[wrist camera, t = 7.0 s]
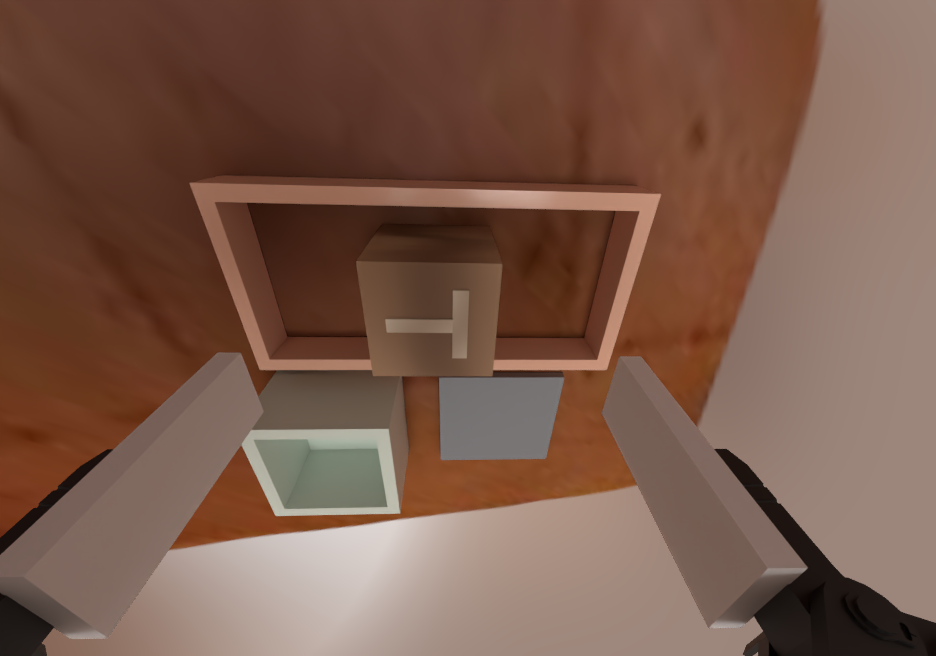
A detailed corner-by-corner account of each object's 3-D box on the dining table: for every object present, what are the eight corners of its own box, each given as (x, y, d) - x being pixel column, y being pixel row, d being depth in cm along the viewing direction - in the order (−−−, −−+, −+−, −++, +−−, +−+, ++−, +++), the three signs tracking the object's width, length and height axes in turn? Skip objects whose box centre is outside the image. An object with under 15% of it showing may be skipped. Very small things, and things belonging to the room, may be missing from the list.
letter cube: (392, 318, 22) (372, 378, 17) (382, 223, 19) (355, 262, 14) (483, 318, 22) (492, 379, 17) (489, 225, 19) (502, 264, 14)
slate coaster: (441, 454, 29) (440, 460, 28) (439, 372, 24) (439, 377, 24) (544, 452, 29) (545, 458, 29) (562, 372, 25) (564, 377, 24)
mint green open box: (305, 450, 28) (275, 515, 23) (278, 369, 24) (234, 430, 19) (409, 449, 28) (400, 513, 24) (401, 369, 24) (388, 428, 19)
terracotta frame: (278, 346, 23) (259, 369, 20) (222, 175, 17) (189, 182, 15) (592, 347, 24) (606, 369, 21) (636, 185, 18) (661, 193, 16)
